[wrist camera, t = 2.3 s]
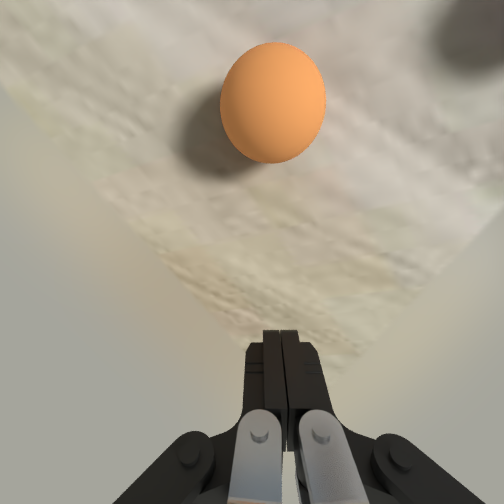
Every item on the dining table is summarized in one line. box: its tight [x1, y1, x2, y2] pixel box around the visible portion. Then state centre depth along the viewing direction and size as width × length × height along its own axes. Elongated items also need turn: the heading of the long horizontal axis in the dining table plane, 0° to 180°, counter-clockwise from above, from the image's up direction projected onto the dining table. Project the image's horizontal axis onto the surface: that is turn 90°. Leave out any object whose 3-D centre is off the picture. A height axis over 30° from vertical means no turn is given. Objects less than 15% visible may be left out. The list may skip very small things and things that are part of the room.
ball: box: [220, 42, 326, 163], centre depth 14 cm, size 6×6×6 cm
